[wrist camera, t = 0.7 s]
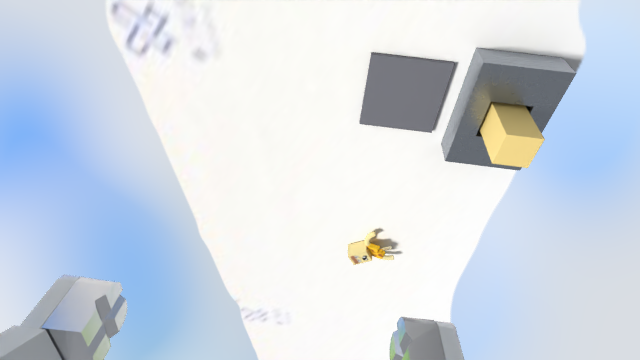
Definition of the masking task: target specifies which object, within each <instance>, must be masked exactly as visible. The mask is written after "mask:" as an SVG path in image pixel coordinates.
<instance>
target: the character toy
mask: <svg viewBox="0 0 640 360" xmlns="http://www.w3.org/2000/svg"><path fill="white" fill-rule="evenodd" d="M375 236H376V233H375V231H374V232H371V233H369V234H368V235H367V236H366V238H365V240H364V241H360V242H356V243H353V244H349V245H348V257H349V259H350V260H351V261H352V263H353V264H354V265H356V264H360V263H364V262H368V261H372V256H374V257H377V258H380V259H383V260H394V256H393V255H390V256H387V255H385V251H384V250H389V249H392V247H391V246H389V247H384V248H382V249H380V246H377V245H374V244H372V243H370V239H371V238H373V237H375Z"/></svg>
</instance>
